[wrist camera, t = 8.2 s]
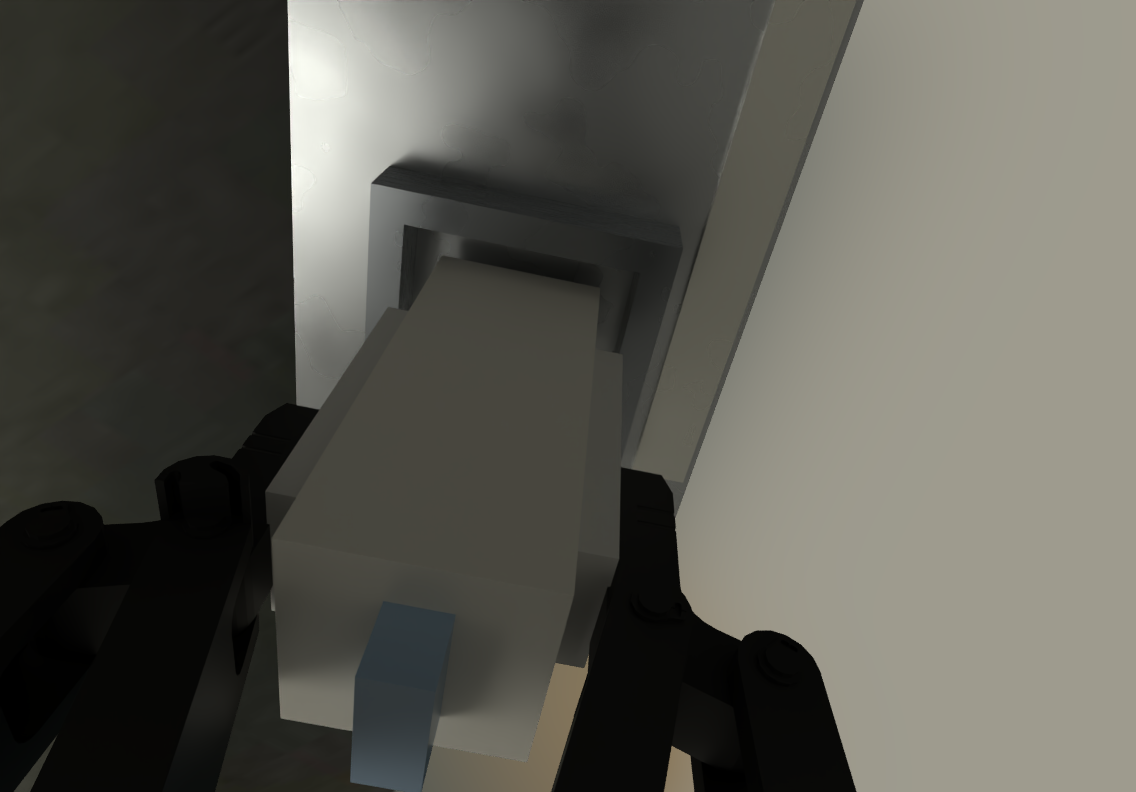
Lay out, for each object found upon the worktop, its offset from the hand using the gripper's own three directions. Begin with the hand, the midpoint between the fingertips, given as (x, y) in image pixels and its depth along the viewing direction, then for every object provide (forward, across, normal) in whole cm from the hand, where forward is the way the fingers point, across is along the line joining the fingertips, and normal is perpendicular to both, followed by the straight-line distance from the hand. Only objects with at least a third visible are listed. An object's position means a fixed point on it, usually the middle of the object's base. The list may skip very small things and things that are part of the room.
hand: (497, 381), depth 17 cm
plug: (+2, 0, 0) cm, 2 cm away
